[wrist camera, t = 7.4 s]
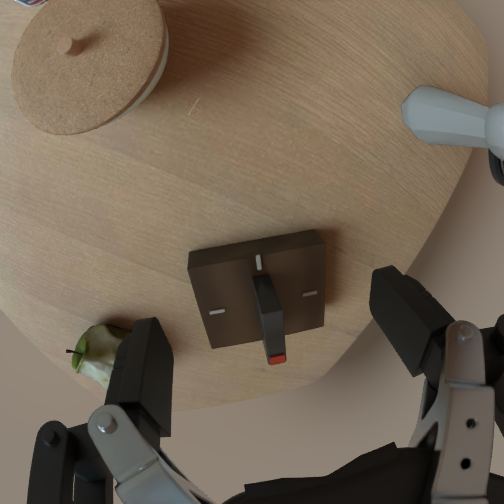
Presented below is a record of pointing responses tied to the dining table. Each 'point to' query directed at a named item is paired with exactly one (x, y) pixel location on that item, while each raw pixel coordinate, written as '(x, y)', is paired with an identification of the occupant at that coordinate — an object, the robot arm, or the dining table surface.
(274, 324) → the handle
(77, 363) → the fruit
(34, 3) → the pill bottle
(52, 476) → the robot arm
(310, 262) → the handle panel
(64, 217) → the dining table surface
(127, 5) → the trinket box
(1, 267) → the dining table surface
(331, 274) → the dining table surface
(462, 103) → the salt shaker
